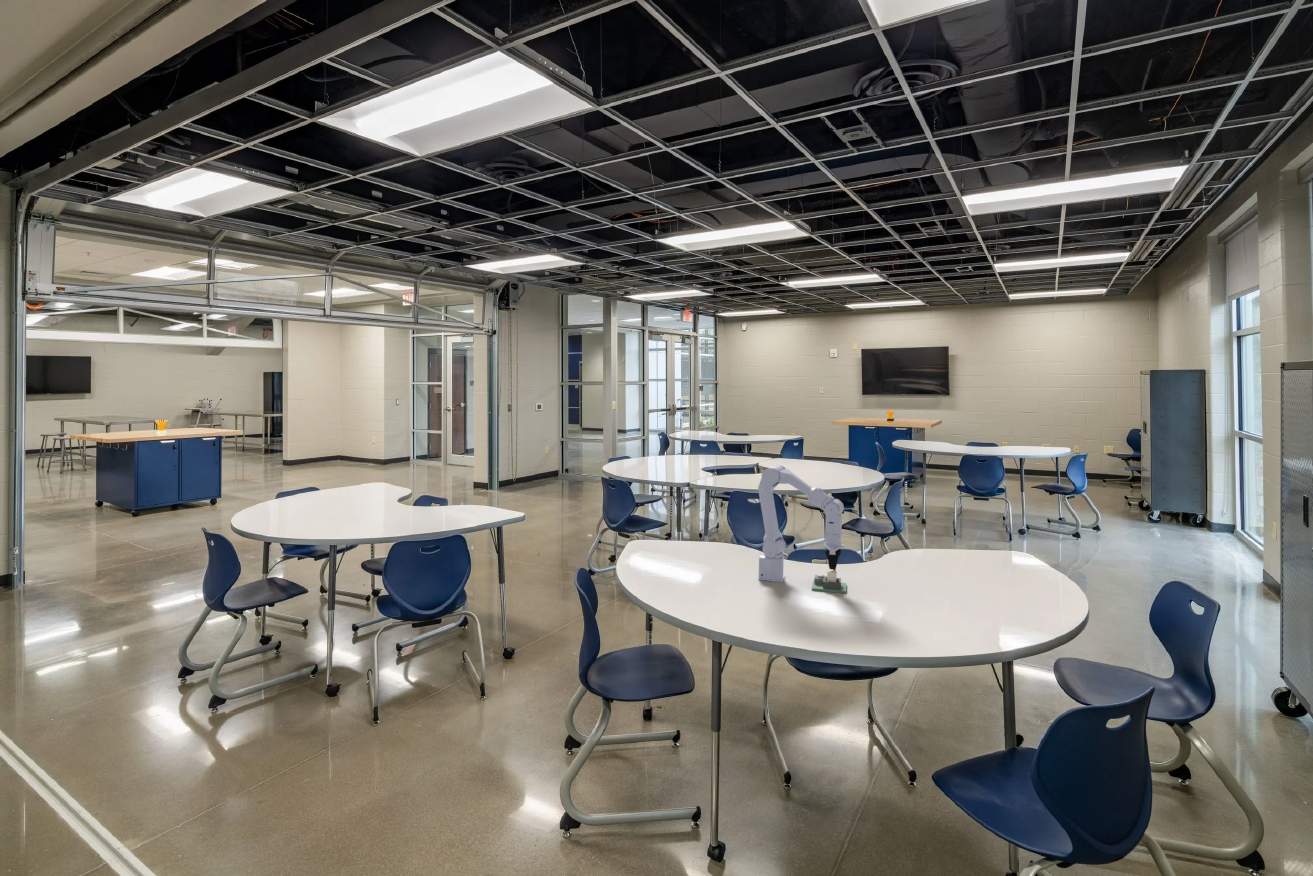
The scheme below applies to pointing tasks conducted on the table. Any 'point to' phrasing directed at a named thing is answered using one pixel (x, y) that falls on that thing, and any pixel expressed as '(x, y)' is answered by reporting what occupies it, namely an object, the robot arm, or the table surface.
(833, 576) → the plug
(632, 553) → the table surface
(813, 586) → the board
